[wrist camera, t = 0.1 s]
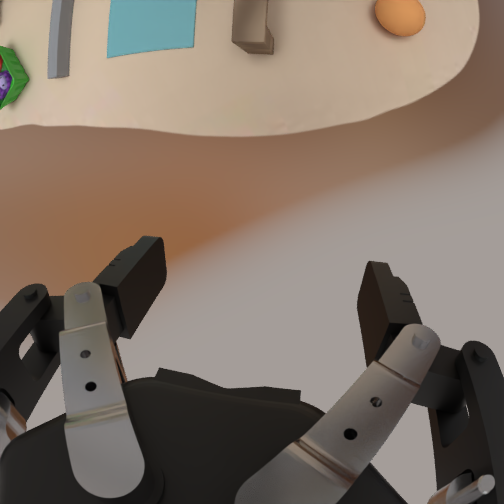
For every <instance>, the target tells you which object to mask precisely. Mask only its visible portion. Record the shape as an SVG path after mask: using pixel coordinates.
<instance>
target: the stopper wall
mask: <svg viewBox="0 0 504 504" xmlns="http://www.w3.org/2000/svg"><path fill="white" fill-rule="evenodd" d="M73 4H74V0H53V4H52V12H51V22H50V33H49V48H48V79H52V78H61V77H65V76H69V56H70V37H71V24H72V13H73Z"/></svg>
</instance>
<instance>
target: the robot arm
mask: <svg viewBox="0 0 504 504" xmlns="http://www.w3.org/2000/svg"><path fill="white" fill-rule="evenodd" d="M166 275H167V270H166V260H165V251H164V242H163V239H162V238H161V237H153V236H142V237H141V238H140V240H138V242H137V243H136V244H135V245H134V246H130V247H128V248H126V249H125V250H123V251H121V252H120V253H119V254H118V255H117V256H116V257H115V258H114V260H112V261H111V262H110V263H109V266H107V267H106V268H105V269H104V270H103V271H102V272H101V273H100V274H99V275H98V276H97V277H96V278H95V280H94V281H93V282H83V283H79V284H76V285H74V286H72V287H71V288H69V289H68V290H67V291H66V293H65V295H64V296H49V294H48V291H47V288H46V286H44V285H43V284H31V285H28V286H26V287H24V288H23V289H21V290H20V291H19V292H18V293H17V294H16V295H15V296H14V297H13V298H12V300H11V301H10V302H9V303H8V304H7V305H6V306H5V307H4V308H3V309H2V310H1V312H0V504H408V503H407V502H406V501H405V500H404V499H403V498H402V497H401V496H400V495H399V494H398V493H397V492H396V491H395V489H394V488H393V487H392V486H391V485H390V484H389V483H388V482H387V481H386V479H384V477H383V476H382V475H381V474H380V473H379V472H378V471H377V469H376V468H375V467H374V466H373V465H372V464H371V463H370V461H371V460H372V458H373V457H374V456H375V455H376V453H377V452H378V451H379V449H380V448H381V446H382V445H383V444H384V442H385V441H386V440H387V438H388V437H389V435H390V434H391V432H392V431H393V429H394V428H395V426H396V425H397V424H398V422H399V420H400V419H401V417H402V416H403V414H404V413H405V411H406V410H407V408H408V406H409V405H410V403H414V404H417V405H421V406H425V407H428V413H429V420H430V427H431V434H432V441H433V449H434V459H435V469H436V482H437V492H435V493H434V494H433V495H432V496H431V498H430V499H429V501H428V503H427V504H504V377H503V375H502V372H501V370H500V367H499V365H498V362H497V360H496V357H495V355H494V353H493V352H492V350H491V349H490V348H489V347H488V346H486V345H485V344H483V343H481V342H478V341H468V342H467V343H465V344H464V345H463V347H462V349H461V350H460V351H459V350H456V349H452V348H449V347H445V346H442V345H441V342H440V338H439V337H438V335H437V334H436V333H435V332H434V331H433V330H432V329H430V328H429V327H427V326H424V325H423V324H422V322H421V319H420V316H419V314H418V311H417V309H416V306H415V304H414V303H413V299H412V297H411V296H410V292H409V289H408V287H407V285H406V284H405V283H404V282H403V281H402V280H401V279H400V278H399V277H394V276H393V275H392V272H391V270H390V267H389V265H388V263H383V262H374V261H369V262H368V263H367V265H366V269H365V273H364V276H363V280H362V284H361V287H360V291H359V294H358V301H357V311H358V316H359V322H360V328H361V334H362V340H363V346H364V353H365V359H366V366H367V369H366V370H365V371H364V372H363V374H362V375H361V376H360V377H359V378H358V379H357V380H356V382H355V383H354V384H353V385H352V386H351V387H350V388H349V389H348V391H347V392H346V393H345V394H344V395H343V396H342V397H341V398H340V399H339V400H338V401H337V402H336V403H335V405H334V406H333V407H332V408H331V409H330V410H329V411H328V412H327V413H324V412H323V411H322V410H320V409H318V408H316V407H314V406H313V405H310V404H308V403H305V402H302V401H300V394H301V391H300V390H291V389H282V388H272V387H265V386H264V387H250V388H231V389H227V388H223V387H220V386H218V385H215V384H213V383H210V382H208V381H206V380H203V379H201V378H199V377H196V376H194V375H191V374H187V373H182V372H177V371H172V370H168V369H163V368H159V370H158V372H157V374H156V376H155V377H146V378H139V379H135V380H131V381H127V378H126V374H125V371H124V367H123V364H122V360H121V356H120V353H119V349H118V345H117V342H116V340H117V339H118V338H119V337H123V338H127V339H131V338H132V336H133V334H134V333H135V331H136V329H137V328H138V326H139V324H140V323H141V321H142V320H143V318H144V316H145V315H146V313H147V312H148V310H149V308H150V307H151V305H152V304H153V302H154V300H155V299H156V297H157V296H158V294H159V293H160V291H161V289H162V288H163V286H164V284H165V281H166ZM29 333H30V334H31V336H32V338H33V340H34V343H33V344H32V346H31V347H30V349H29V350H28V351H27V353H26V354H25V356H24V357H23V359H22V360H21V359H20V357H19V348H20V345H21V343H22V342H23V341H24V339H25V338H26V337H27V335H28V334H29ZM60 364H61V373H62V384H63V393H64V401H65V408H66V413H64V414H62V415H60V416H58V417H56V418H54V419H52V420H50V421H48V422H46V423H43V424H41V425H39V426H37V427H35V428H33V429H31V430H29V431H27V432H26V429H27V427H26V422H27V420H28V418H29V417H30V415H31V413H32V411H33V409H34V408H35V406H36V404H37V402H38V400H39V399H40V397H41V395H42V394H43V392H44V390H45V388H46V387H47V385H48V383H49V382H50V380H51V378H52V377H53V375H54V373H55V372H56V370H57V368H58V367H59V365H60ZM466 404H467V408H468V412H469V416H468V412H467V408H466Z"/></svg>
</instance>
